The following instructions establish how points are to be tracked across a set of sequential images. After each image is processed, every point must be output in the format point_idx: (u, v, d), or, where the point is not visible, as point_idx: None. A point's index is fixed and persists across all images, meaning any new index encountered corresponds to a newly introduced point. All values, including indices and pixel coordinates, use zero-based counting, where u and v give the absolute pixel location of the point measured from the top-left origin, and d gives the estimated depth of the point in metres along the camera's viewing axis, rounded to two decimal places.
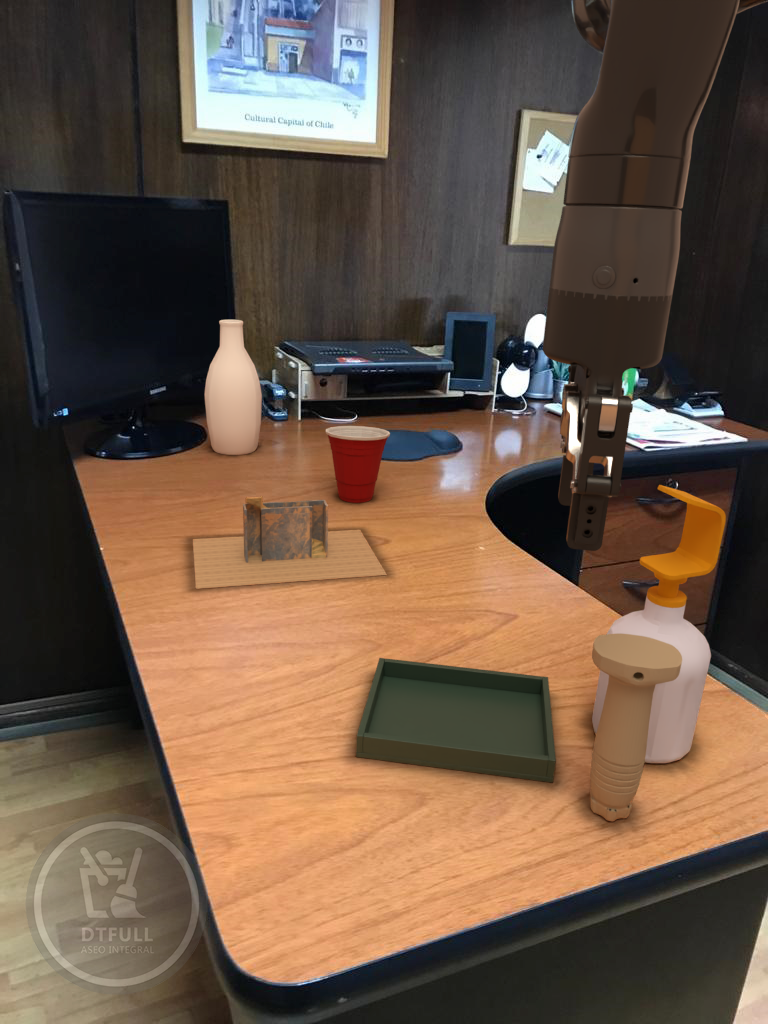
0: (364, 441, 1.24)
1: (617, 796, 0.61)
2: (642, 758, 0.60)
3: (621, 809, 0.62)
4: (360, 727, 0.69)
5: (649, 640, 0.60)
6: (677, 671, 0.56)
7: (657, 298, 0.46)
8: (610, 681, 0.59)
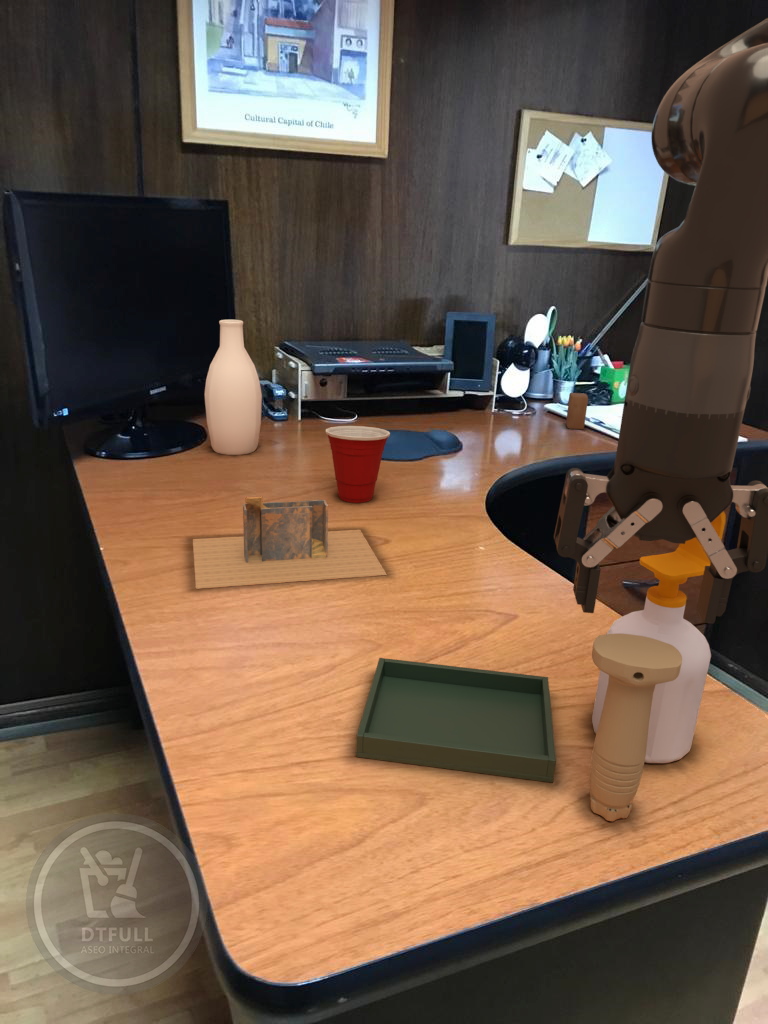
0: (364, 441, 1.24)
1: (617, 796, 0.61)
2: (642, 758, 0.60)
3: (621, 809, 0.62)
4: (360, 727, 0.69)
5: (649, 640, 0.60)
6: (677, 671, 0.56)
7: None
8: (610, 681, 0.59)
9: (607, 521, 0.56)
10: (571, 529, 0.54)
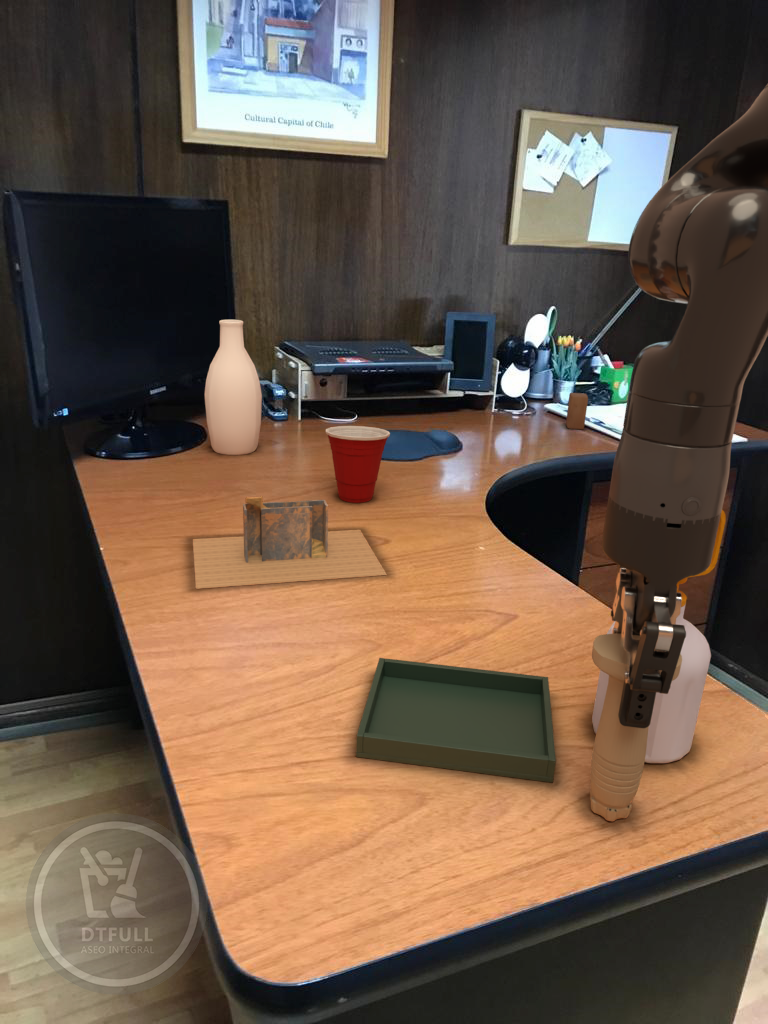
0: (364, 441, 1.24)
1: (617, 796, 0.61)
2: (642, 758, 0.60)
3: (621, 809, 0.62)
4: (360, 727, 0.69)
5: None
6: (677, 671, 0.56)
7: None
8: (610, 681, 0.59)
9: (639, 641, 0.55)
10: None
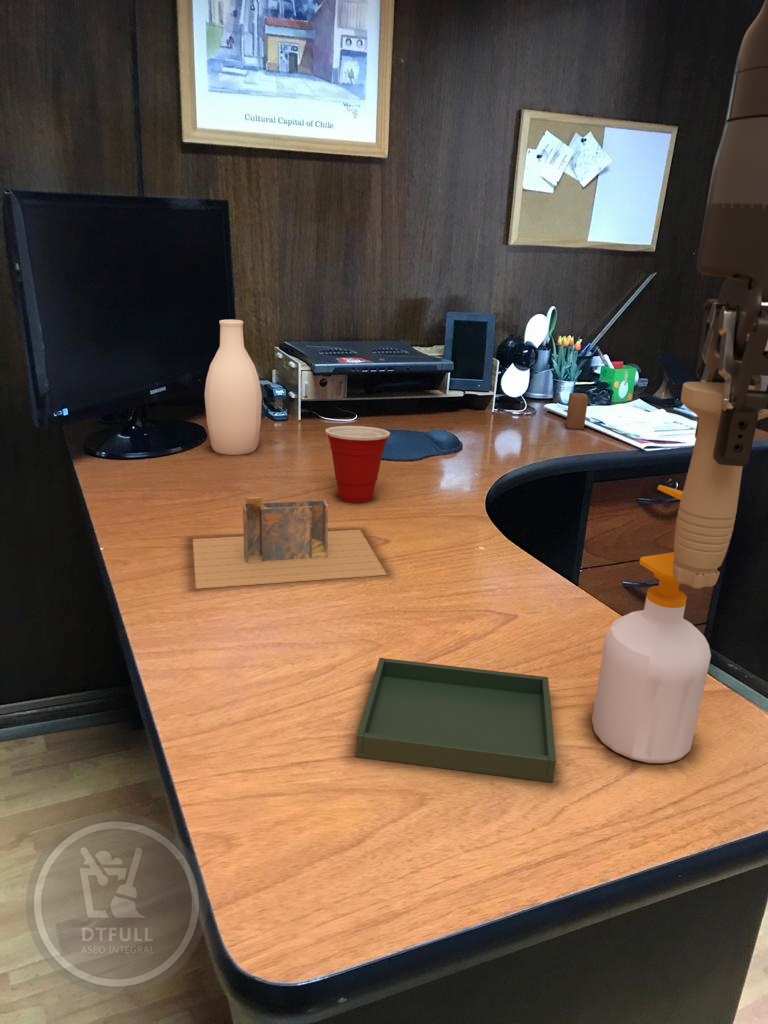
0: (364, 441, 1.24)
1: (706, 556, 0.57)
2: (734, 512, 0.56)
3: (709, 574, 0.58)
4: (360, 727, 0.69)
5: None
6: None
7: None
8: (701, 425, 0.55)
9: (739, 363, 0.51)
10: None
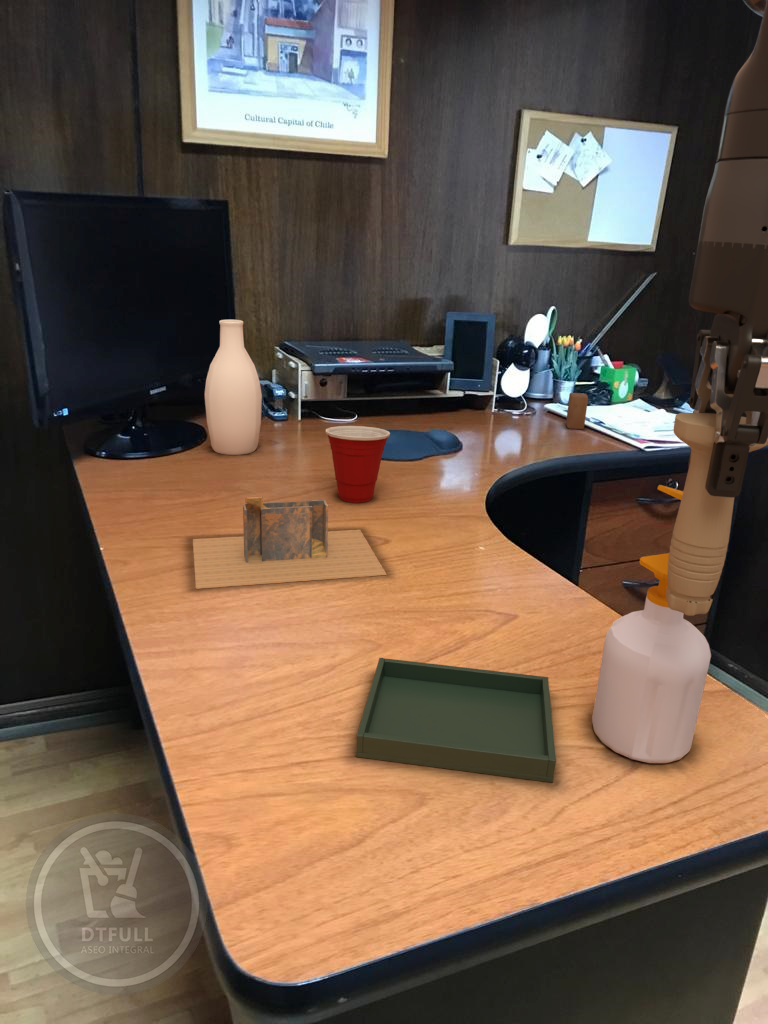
0: (364, 441, 1.24)
1: (699, 585, 0.58)
2: (726, 541, 0.57)
3: (702, 602, 0.59)
4: (360, 727, 0.69)
5: None
6: None
7: None
8: (693, 457, 0.56)
9: (731, 397, 0.52)
10: None
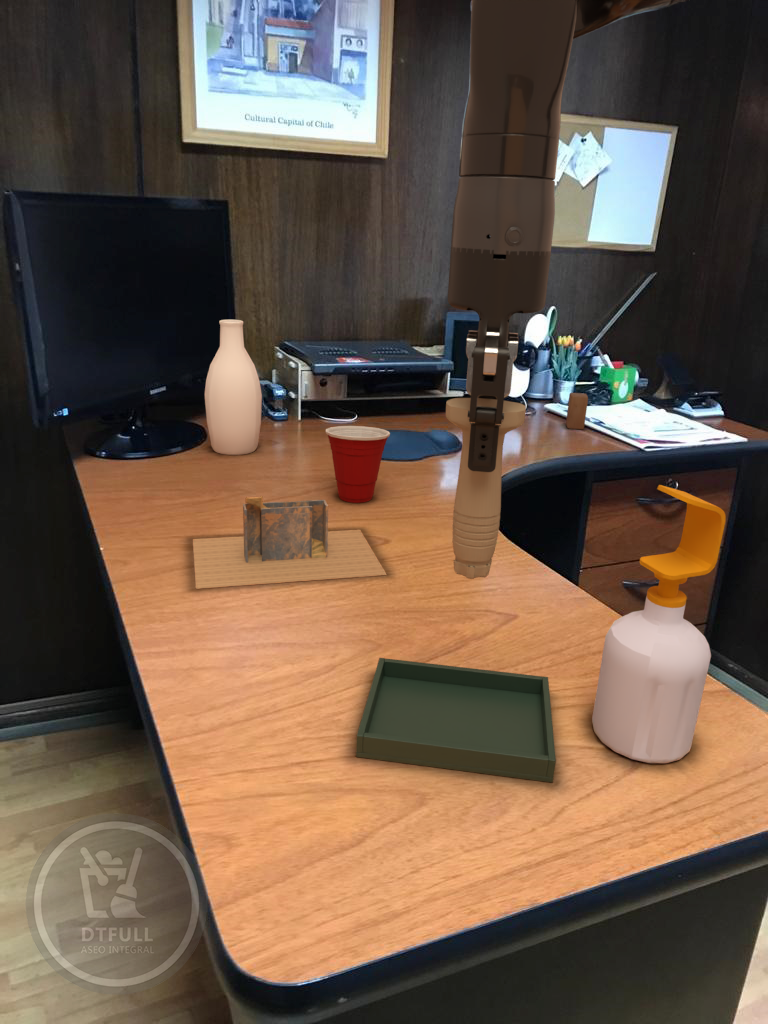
0: (364, 441, 1.24)
1: (474, 550, 0.65)
2: (495, 512, 0.64)
3: (479, 566, 0.66)
4: (360, 727, 0.69)
5: None
6: (518, 416, 0.61)
7: None
8: (462, 436, 0.63)
9: None
10: None
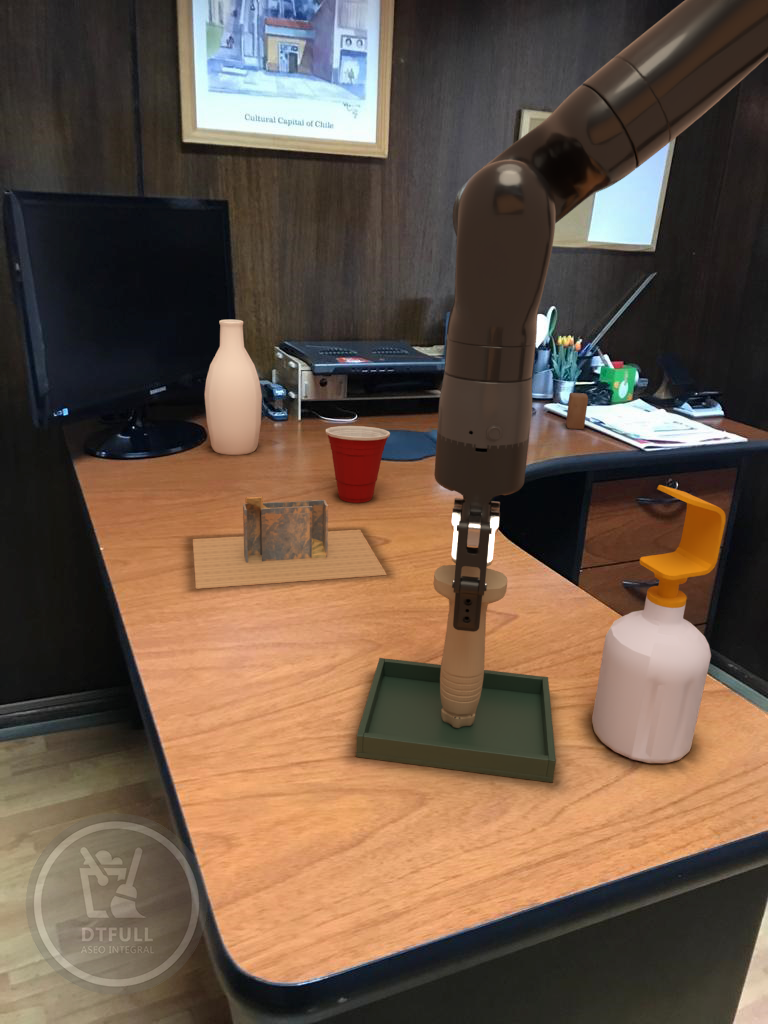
0: (364, 441, 1.24)
1: (459, 705, 0.71)
2: (479, 671, 0.70)
3: (465, 717, 0.72)
4: (360, 727, 0.69)
5: None
6: (500, 592, 0.66)
7: None
8: (449, 604, 0.69)
9: None
10: None
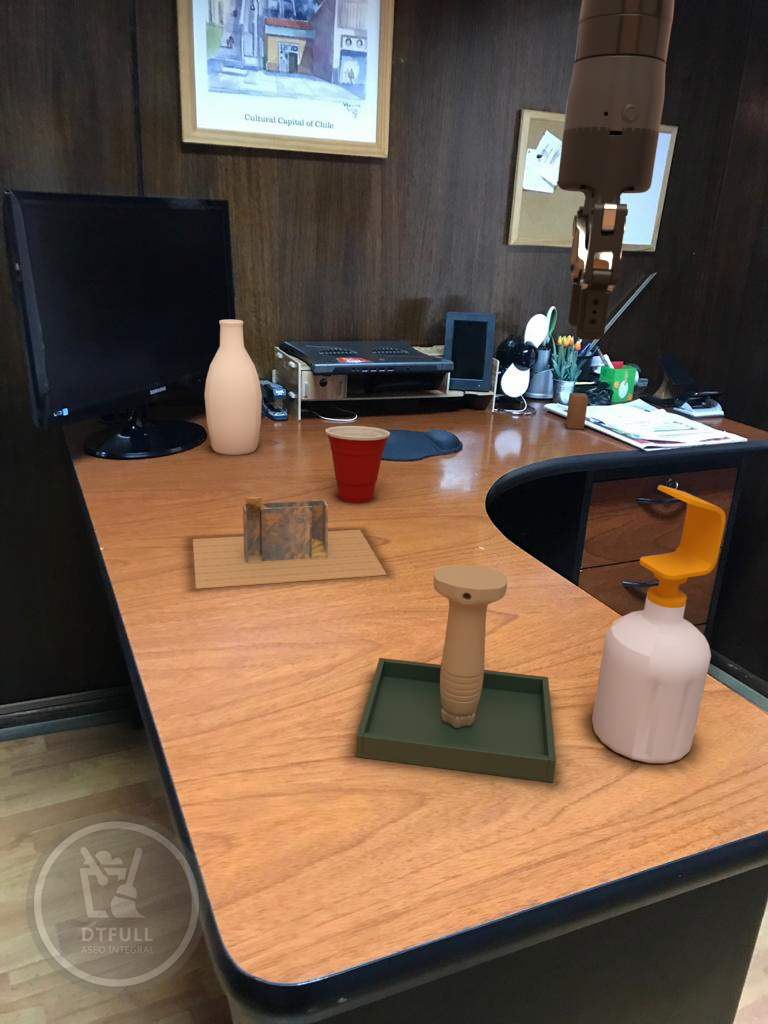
0: (364, 441, 1.24)
1: (459, 705, 0.71)
2: (479, 671, 0.70)
3: (465, 717, 0.72)
4: (360, 727, 0.69)
5: (484, 569, 0.70)
6: (500, 592, 0.66)
7: None
8: (449, 604, 0.69)
9: None
10: None
